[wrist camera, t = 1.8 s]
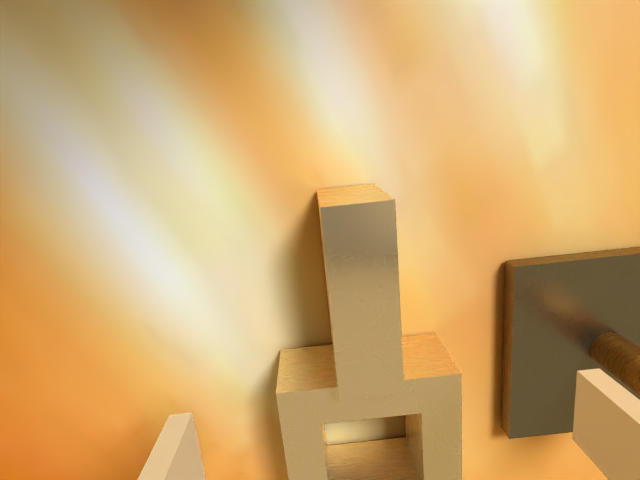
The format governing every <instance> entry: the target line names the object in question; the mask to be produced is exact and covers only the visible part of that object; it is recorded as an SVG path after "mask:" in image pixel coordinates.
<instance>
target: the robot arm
mask: <svg viewBox="0 0 640 480" xmlns="http://www.w3.org/2000/svg"><path fill="white" fill-rule="evenodd" d="M572 439H573V440H574V441H575V442H576V444H577V445H578V446H579V447H580V448H581V449H582V450H583V451H584V453H585V454H586V455H587V456H588V457H589V458H590V459H591V460H592V462H593V463H594V464H595V465H596V466H597V467H598V468H599V469H600V471H601V472H602V473H603V474H604V475H605V476H606V477H607V478H608V480H640V400H639V399H638V398H637V397H635V396H634V395H633V394H631V393H630V392H629V391H628V390H626V389H625V388H624V387H623V386H621V385H620V384H619V383H617V382H616V381H615V380H614V379H612V378H611V377H610V376H608V375H607V374H606V373H605V372H603V371H602V370H601V369H599V368H598V369H589V370H580V371H577V379H576V394H575V408H574V423H573V438H572ZM138 480H206V476H205V471H204V466H203V461H202V456H201V452H200V447H199V442H198V437H197V432H196V428H195V423H194V418H193V413H192V412H191V413H181V414H172V415H169V417H168V419H167V421H166V423H165V425H164V427H163V429H162V431H161V433H160V435H159V437H158V439H157V441H156V443H155V445H154V447H153V449H152V451H151V454H150V456H149V458H148V460H147V462H146V464H145V466H144V468H143V470H142V472H141V474H140V476H139V478H138Z"/></svg>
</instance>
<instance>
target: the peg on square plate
mask: <svg viewBox="0 0 640 480" xmlns="http://www.w3.org/2000/svg"><path fill="white" fill-rule="evenodd" d="M598 368H599V369H601V370H602V371H603V372H605V373H606V374H607V375H608V376H610V377H611V378H612V379H614V380H615V381H616V382H617V383H619V384H620V385H621V386H623V387H624V388H625V389H626V390H628V391H629V392H630V393H631V394H633V395H634V396H635V397H637V398H638V399H639V400H640V247H632V248H622V249H613V250H603V251H594V252H584V253H575V254H565V255H556V256H546V257H537V258H527V259H518V260H508V261H506V266H505V304H504V342H503V380H502V417H501V427H502V429H503V430H504V432H505V433H506V435H507V436H508V438H509V439H511V438H521V437H530V436H539V435H548V434H558V433H567V432H573V423H574V408H575V394H576V379H577V371H580V370H589V369H598Z"/></svg>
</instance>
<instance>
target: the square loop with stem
mask: <svg viewBox="0 0 640 480" xmlns="http://www.w3.org/2000/svg"><path fill="white" fill-rule="evenodd" d="M317 198H318V208H319V218H320V227H321V237H322V247H323V257H324V267H325V277H326V287H327V296H328V306H329V316H330V326H331V336H332V344H330V345H321V346H311V347H302V348H293V349H283V350H281V351H280V360H279V369H278V378H277V386H276V399H277V406H278V413H279V420H280V426H281V433H282V440H283V446H284V453H285V460H286V466H287V473H288V480H462V398H461V372H460V371H459V369H458V368H457V366H456V365H455V363H454V362H453V360H452V358H451V357H450V355H449V354H448V352H447V351H446V349H445V347H444V346H443V344H442V343H441V341H440V340H439V338H438V337H437V335H436V333H433V334H424V335H415V336H405V337H402V331H401V311H400V291H399V271H398V250H397V230H396V210H395V199H393V198H392V197H391V196H390V195H388V194H387V193H386V192H384V191H383V190H382V189H380V188H379V187H378V186H377V185H375V184H367V185H357V186H347V187H338V188H328V189H319V190H317ZM401 415H405V426H406V437H403V438H394V439H384V440H375V441H366V442H357V443H348V444H338V445H329V446H327V445H326V437H325V428H324V424H327V423H336V422H345V421H354V420H364V419H373V418H382V417H391V416H401Z"/></svg>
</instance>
